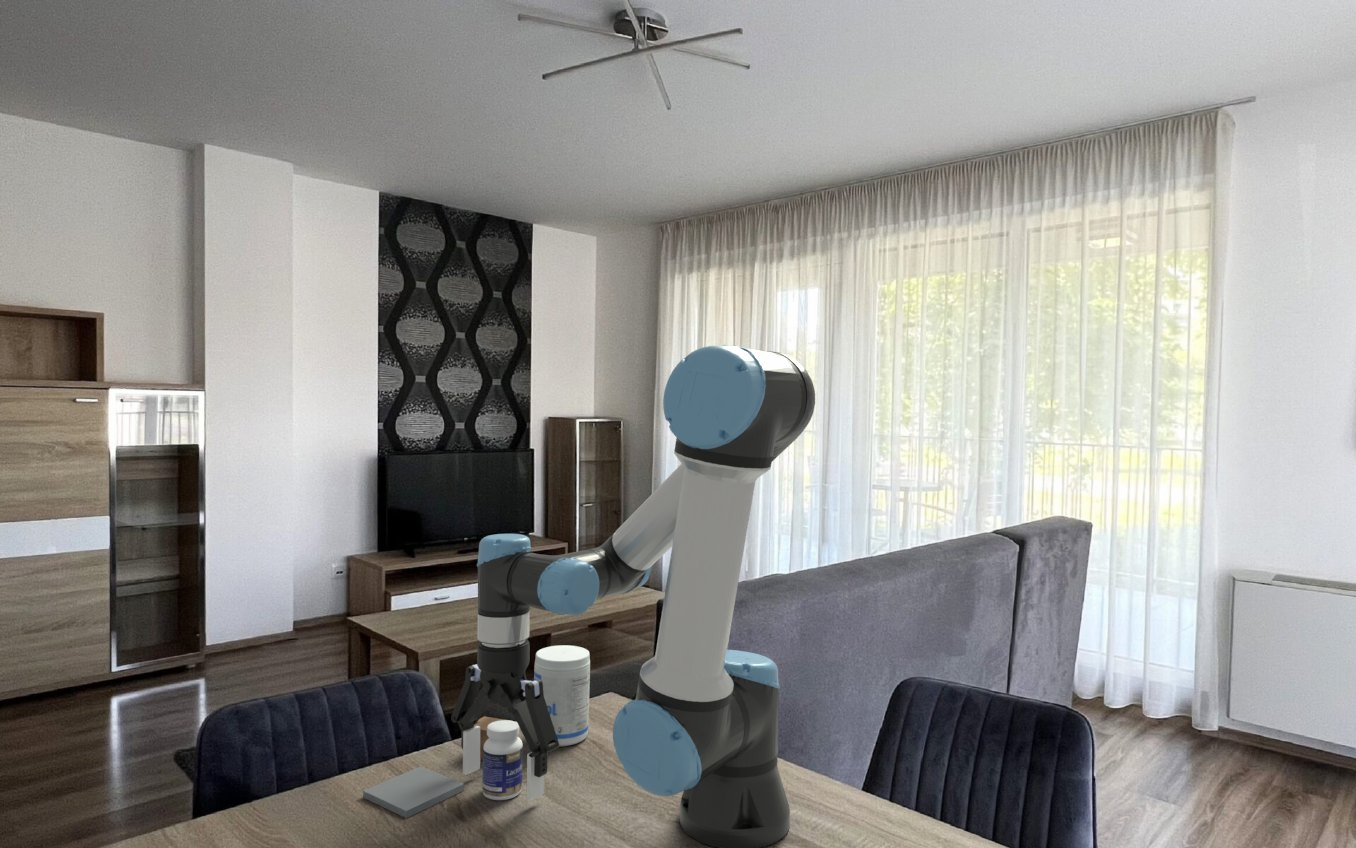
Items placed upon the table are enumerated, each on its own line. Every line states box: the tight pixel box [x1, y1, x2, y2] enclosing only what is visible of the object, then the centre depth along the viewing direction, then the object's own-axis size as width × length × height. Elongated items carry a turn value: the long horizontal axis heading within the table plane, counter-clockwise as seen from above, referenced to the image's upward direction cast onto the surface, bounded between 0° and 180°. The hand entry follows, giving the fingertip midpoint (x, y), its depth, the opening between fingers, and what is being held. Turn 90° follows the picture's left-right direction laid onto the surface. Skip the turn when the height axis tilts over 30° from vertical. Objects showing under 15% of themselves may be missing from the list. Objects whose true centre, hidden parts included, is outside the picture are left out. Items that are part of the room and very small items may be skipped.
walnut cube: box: [474, 715, 505, 761], centre depth 132 cm, size 5×5×5 cm
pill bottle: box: [482, 719, 524, 801], centre depth 118 cm, size 6×6×10 cm
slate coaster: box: [362, 765, 465, 819], centre depth 118 cm, size 10×10×1 cm
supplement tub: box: [533, 644, 591, 747], centre depth 139 cm, size 10×10×15 cm
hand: (502, 784), depth 119 cm, fingers open, 13 cm apart
